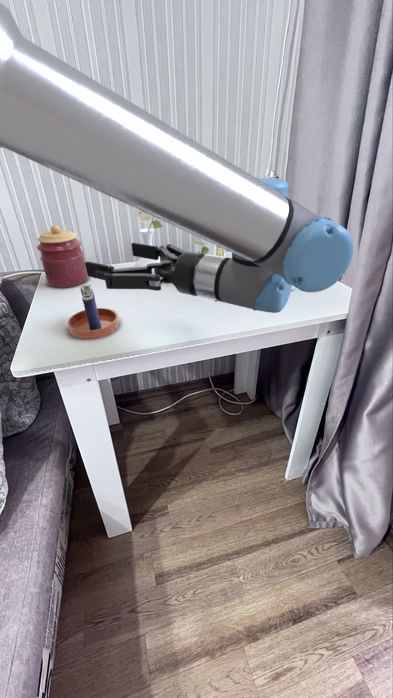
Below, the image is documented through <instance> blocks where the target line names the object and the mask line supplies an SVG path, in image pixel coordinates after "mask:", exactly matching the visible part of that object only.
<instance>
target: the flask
mask: <svg viewBox="0 0 393 698" xmlns="http://www.w3.org/2000/svg"><path fill="white" fill-rule="evenodd" d="M91 286H92V285H91V284H85V285H83V284H82V285H81V287H80V292H81V296H82V298H81V300H82V303H83V308H84V310H85V312H86V316H87V320H88V323H89V327H90V330H95V329H100V328H101V323H100V320H99V315H98V311H97V308H98V307H97V302H96V297H95V293H94V289H92V287H91Z"/></svg>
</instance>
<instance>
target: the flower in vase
mask: <svg viewBox="0 0 393 698" xmlns="http://www.w3.org/2000/svg"><path fill="white" fill-rule="evenodd" d="M136 212H137V217H138V220H139V222H140V223H142V224H144V225H146V226H148V228H140V229H139V233H140V234H141V236H142V238H143V241H144V244H145V245H151V246H153V242H152V241H153V236H154V235H153V234H154V233H155V231H156V230H155V229H160V228H163V227H164V226H163V225H162V223H161V221H160V219H155V220H154V218H155V217H154V216H152V215H149V214H147V213H145V212H143V211H141V210H139V209H136ZM143 220H144V221H143ZM150 220H151V222H150V223H149V224H150V225H149V224H148V223H147V222H145V221H150ZM152 226H153V228H151V227H152ZM158 257H159V259H158V260H153V259H147V258H142V257H139V258H138V259H137V261H136V262H135V263H134V265H133V268H135V267H146V266H147V265H148V264H151V263H160V256H158ZM152 273H154V268H153V269H152Z"/></svg>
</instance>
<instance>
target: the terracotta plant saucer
mask: <svg viewBox="0 0 393 698" xmlns="http://www.w3.org/2000/svg"><path fill="white" fill-rule="evenodd" d="M97 311H98V315H99V320H100V323H101V328H100V329H95V330H90V327H89V323H88V320H87V316H86V312H85V309H84V310H81V311H78V312H76V313H75V314H73V315H71V316H70V317H69V318H68V321H67V326H68V330H69V332H70V335H72V336H73V337H75V338H77V339H79V340H80V339H82V340H96V339H99V338H100V339H101V338H105V337H106V336H109V335H111V334H112V333H114V332H115V331H116V330H117V329H118V328H119V326H120V320H119V319H120V318H119V315H118V312H117V311H116V310H114V309H111V308H108V307H107V308H106V307H97Z"/></svg>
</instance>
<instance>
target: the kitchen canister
mask: <svg viewBox="0 0 393 698" xmlns="http://www.w3.org/2000/svg"><path fill="white" fill-rule="evenodd" d="M77 237H78V235H77V234H76V233H75V232H73V231H71V230H69V229H61V228H60V226H59V225H57V224H53V225H51V226H50V230H48V231H45V232H42V234H41V235H40V236H39V237H38V238H37V241H38V242H39V243H38V245H37V246H36V249H37V250H38V251H39V252H40V257H39V259H40V261H41V264H42V267H43V271H44V274H45V279H46V282H47V284H48V285H49V286H50V287H52V288H57V289H64V288H73V287H78V286H80V285H83V284H84V283H86V281H88V279H89V276H88V275H87V270H86V266H85V262H86V260H85V256H84V251H83V250H82V249H81V245H82V241H81V240H80V239H77Z"/></svg>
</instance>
